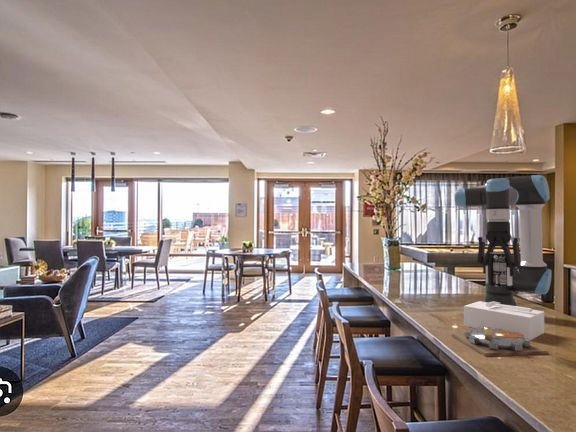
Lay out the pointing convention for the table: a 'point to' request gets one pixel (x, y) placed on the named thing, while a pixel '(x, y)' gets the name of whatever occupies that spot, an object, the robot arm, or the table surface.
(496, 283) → the beverage can
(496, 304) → the tissue box
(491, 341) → the sprocket
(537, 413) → the table surface
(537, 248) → the robot arm
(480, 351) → the board
